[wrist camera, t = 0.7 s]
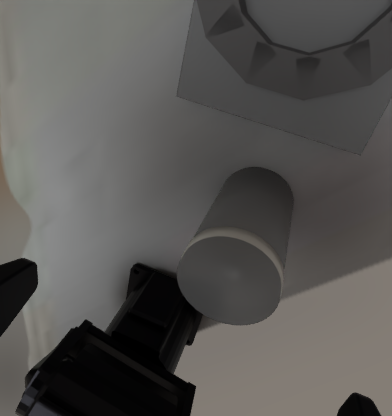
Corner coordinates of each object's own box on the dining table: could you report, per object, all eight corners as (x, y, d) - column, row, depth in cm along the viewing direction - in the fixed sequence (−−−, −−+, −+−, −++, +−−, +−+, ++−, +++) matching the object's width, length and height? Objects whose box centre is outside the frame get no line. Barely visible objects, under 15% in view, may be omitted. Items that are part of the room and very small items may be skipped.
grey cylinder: (278, 242, 22) (260, 340, 15) (212, 217, 22) (167, 301, 16) (306, 181, 19) (299, 267, 13) (231, 156, 20) (187, 225, 13)
